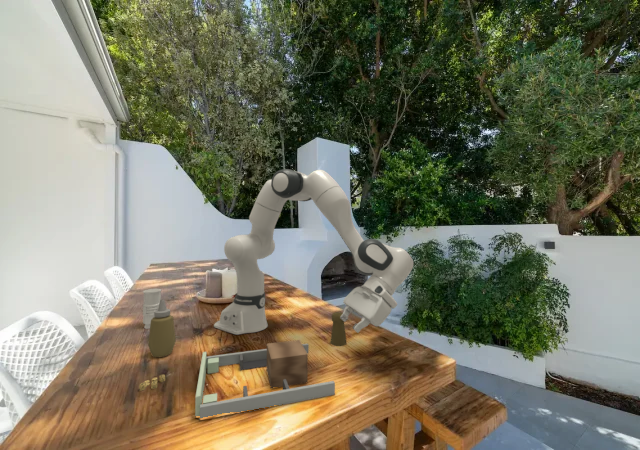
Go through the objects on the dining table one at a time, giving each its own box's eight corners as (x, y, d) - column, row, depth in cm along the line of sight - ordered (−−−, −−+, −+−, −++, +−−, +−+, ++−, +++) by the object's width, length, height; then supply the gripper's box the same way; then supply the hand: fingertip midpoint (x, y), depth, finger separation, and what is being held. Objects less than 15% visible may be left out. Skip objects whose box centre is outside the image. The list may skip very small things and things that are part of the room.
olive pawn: (345, 347, 101) (346, 316, 101) (328, 345, 102) (329, 314, 102) (347, 340, 107) (347, 311, 107) (331, 338, 108) (331, 309, 108)
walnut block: (299, 365, 88) (299, 339, 87) (307, 383, 78) (307, 354, 78) (266, 370, 85) (266, 343, 85) (270, 389, 75) (271, 359, 75)
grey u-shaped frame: (307, 352, 96) (307, 343, 96) (334, 394, 73) (334, 382, 73) (206, 366, 86) (206, 356, 86) (199, 421, 62) (199, 407, 62)
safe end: (218, 366, 86) (218, 350, 86) (216, 415, 64) (217, 393, 64) (202, 368, 85) (202, 352, 85) (195, 419, 63) (195, 396, 63)
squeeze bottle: (181, 350, 97) (181, 297, 97) (160, 361, 89) (161, 304, 89) (163, 346, 99) (163, 295, 99) (141, 357, 92) (142, 301, 92)
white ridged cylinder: (138, 327, 117) (138, 291, 117) (153, 322, 123) (154, 288, 123) (150, 330, 114) (150, 293, 114) (165, 324, 121) (165, 289, 121)
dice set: (166, 381, 79) (166, 374, 79) (158, 392, 74) (158, 384, 74) (146, 382, 78) (146, 375, 78) (137, 393, 73) (137, 385, 73)
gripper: (355, 278, 100) (329, 308, 97) (387, 292, 80) (356, 330, 77) (367, 290, 101) (341, 320, 98) (401, 306, 82) (370, 344, 79)
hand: (348, 324), depth 87 cm, fingers open, 8 cm apart
